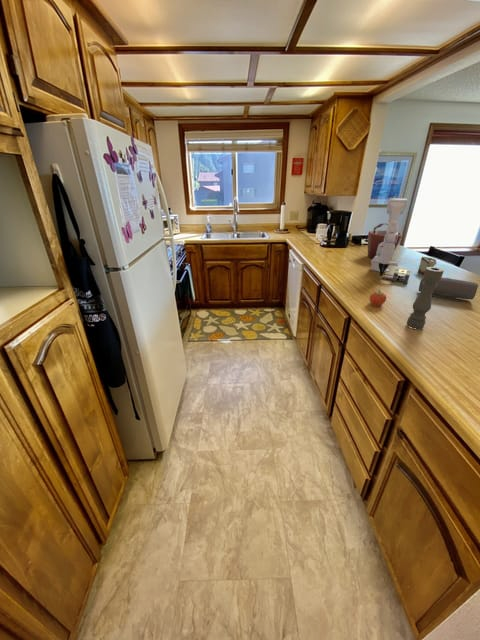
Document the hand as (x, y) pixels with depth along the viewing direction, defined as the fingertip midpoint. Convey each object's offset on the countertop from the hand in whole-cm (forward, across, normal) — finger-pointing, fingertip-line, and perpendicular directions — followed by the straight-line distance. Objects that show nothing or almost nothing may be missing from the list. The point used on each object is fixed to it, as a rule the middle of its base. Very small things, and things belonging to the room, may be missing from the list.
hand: (381, 275), depth 163 cm
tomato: (+2, +4, -44) cm, 44 cm away
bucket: (+2, -7, +50) cm, 50 cm away
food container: (+2, +24, +21) cm, 32 cm away
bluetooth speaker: (+2, +32, -15) cm, 35 cm away
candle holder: (+2, +21, -58) cm, 62 cm away
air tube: (+1, +8, 0) cm, 8 cm away
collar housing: (+1, +11, 0) cm, 11 cm away
